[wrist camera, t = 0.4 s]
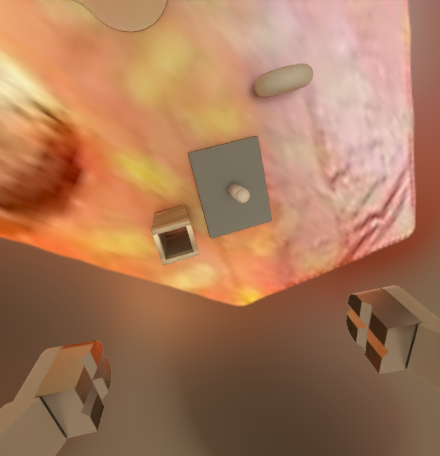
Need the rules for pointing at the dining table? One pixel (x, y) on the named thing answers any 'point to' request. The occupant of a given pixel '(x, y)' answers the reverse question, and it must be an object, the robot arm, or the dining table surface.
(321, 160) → the dining table surface
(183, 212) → the sleeve
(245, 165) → the post board
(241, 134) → the dining table surface
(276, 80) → the donut
